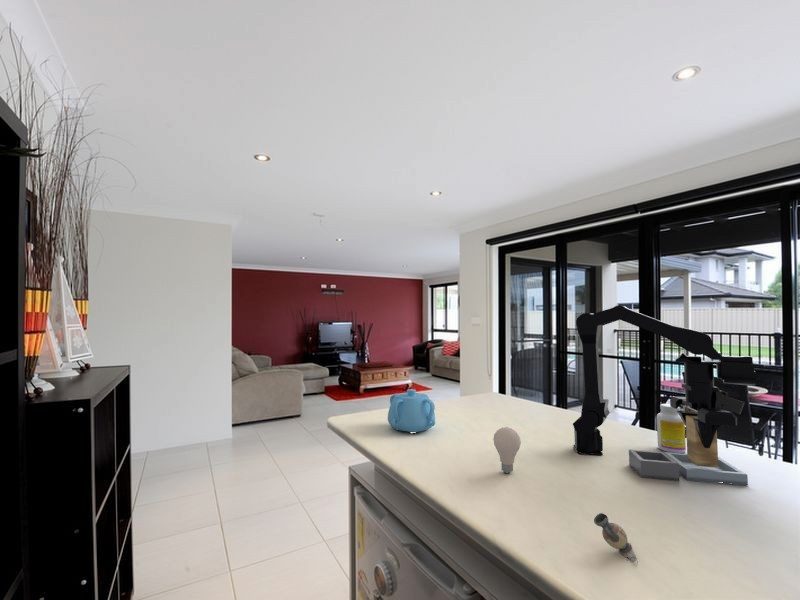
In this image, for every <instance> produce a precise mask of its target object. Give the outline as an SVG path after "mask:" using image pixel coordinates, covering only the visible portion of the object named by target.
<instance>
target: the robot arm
mask: <svg viewBox="0 0 800 600" xmlns="http://www.w3.org/2000/svg"><path fill="white" fill-rule="evenodd" d="M617 321H618V322H619V321H623V322H625V323H627V324H631V325H633V326H635V327H637V328H640V329H642V330H645V331H648V332H650V333H653V334H655V335H658V336H661V337H663V338H664V339H667V340H668V341H670V342H672V343H673V344H675V345H677V346H678V347H680V348H682V349H684V350H685V351H687V352H689V353H690V354H693V355H687V354H686V353H684V352H681V354H680V355H679V356H678V357H676V358H675V359H674V360H675V363H682V364H684V366H683V367H684V383H681V388H683V389H684V391H685V396H673V397H671V398H670V399H669V404H670V406H671V407H673V408H675V409H677V408H678V407H680V411H677V413H678V414H679V415H680V417H681V419H682V421H683V422H684V424H685V427H686V416H698V418H699V419H693V421H694V424H695V426H696V429H697V431H698V434H699V437H700V439H701V442H702V444H703V446H704V448H710V446H711V444H712V441H713V438H714V436H715V433H716V431H717V432H718V430H719V428H721V427H723V426H735V427H736V426H738V416H736V414H738V415H741V413H742V411H743V408H744V406H745V401H741V400H738V399H737V398H733V397H730V396H729V393H728V392H725V391H724V390H720V388H719V387H718V386H715V377H714V376H715V374H714V373H715V372H714V365H716V379H719V380H721V381H722V382H723V384H729V385H732V384H733V385H741V386H753V387H754V386H756V383H757V382H756V381H757V376H756V375H757V373H756V371H755V367H754V362H753V357H752V356H751V355H741V356H736V355H735V356H734V355H733V356H732V355H722V354H721V351H717V349H716V348H715V347H714V346H713V345H714V344H713V343H714V342H713V339H712V338H711V336H710V335H709V334H707V333H705V332H703V331H700V330H694V329H691V328H686V327H681V326H676V325H672V324H669V323H666V322H664V321H661V320H658V319H656V318H654V317H651V316H648V315H646V314H643V313H640V312H637V311H635V310H632V309H629V308H628V307H626V306H625V305H621V304H620V305H619V304H618V305H615V306H613V307H610V308H608V309H607V308H606V309H604V310H601V311H597V312H595V313H591V312H584V313H582V314H579V316H578V317H577V318H576V320H575V325H576V329H577V333H578V336H579V339H580V341H581V345H582V363H583V377H584V379H583V380H584V382H583V383H584V396H583V400H582V406H581V413H580V416H579V417H578V418H577V419H576V420H575V421H574V422H573V423H572V427H573V429H574V444H573V445H572V446H573V448H574V449H575V451H576V453H577V454H583V455H596V456H603V450H604V447H603V446H604V443H603V435H602V434H601V431H600V429H599V427H600V426H601V425H603V424H604V422H605V421H606V420H607V418H608V416H610V415H609V414H610V413H611V412H610V410H609V403H610V401H609V399H607V398H606V399H605V398H604V396H603V395H602V391H601V390H602V389H601V377H600V376H601V374H600V373H601V372H600V358H599V357H600V355H599V342H600V337H601V333H602V332H601V331H602V327H603V326H606V325H608V324H612V323H615V322H617ZM694 355H697V356H694ZM701 355H704V356H705V357H707V358H708V359H710V360H703V359H702V356H701ZM734 413H735V414H734Z"/></svg>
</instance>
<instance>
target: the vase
mask: <svg viewBox="0 0 800 600" xmlns="http://www.w3.org/2000/svg"><path fill="white" fill-rule="evenodd" d="M593 522H594V524H595V525H596V526H598V527H600V528H601V529H602V531H601V533H602V534H601V535H602V538H603V540H604V541H605V542H606V543H607V544H608V545H609V546H610V547H612V548H613V549H616V550H618V552H619V554H621V555H622V554H623V555H622V556H623V557H625V556H626V557H628V558H630V559H628V558H627V559H626V562H629V560H630V561H631V563H634V562H636V564H639V561H638V558H637V556H636V554H635V552H634V549H633V547H632V543H630V542H629V541H628V535H627V533H626V531H625V530H624V528H622V526H620V524H617V523H616V522H615V523H614V522H609V518H608V516H607V514H605V513H603V512H600V513H597V514H596V515H595V516H594V519H593ZM626 557H625V558H626Z"/></svg>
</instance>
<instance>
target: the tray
mask: <svg viewBox="0 0 800 600" xmlns="http://www.w3.org/2000/svg"><path fill="white" fill-rule="evenodd" d="M663 452H664V453H666V454H667V455H668V456H670V457H671V458H672V459H673V460H675V461H676V462H677V463H679V476H681V477H682V478H684V479H685V480H686V481H692V482H693V481H694V482H701V481H704V482H703V483H713V482H723V483H722V484H724V483H732V484H731V485H735V484H739V485H738V486H746V485H748V486H749V480H748V474H747V473H746V472H744V471H743V470H741V469H739V468H737V467H736V466H734V465H732V464H731V463H730V462H727V461H726V460H724V459H723V458H721V457H720V456H718V468H717V467H705V466H696V465H695V464H693V463H692V462H691V461H689V460H688V459H687V453H671V452H666V451H663Z"/></svg>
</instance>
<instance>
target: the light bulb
mask: <svg viewBox="0 0 800 600" xmlns="http://www.w3.org/2000/svg"><path fill="white" fill-rule="evenodd" d="M492 440H493V445H494V447H495V449H496V451H497V453H498V455H499V460H500V462H501V470H502V471H503V472H504V473H506V474H510V473H512V472H513V471H514V463H515V458H516V456H517V453H518V451H519V450H520V449H521V443H522V441H521V437H520V435H519V434H518V432H517V431H516V430H515V429H513V428H511V427H508V426H505V427H501V428H499V429H498V430H496V432H495V433H494V434H493V439H492Z"/></svg>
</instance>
